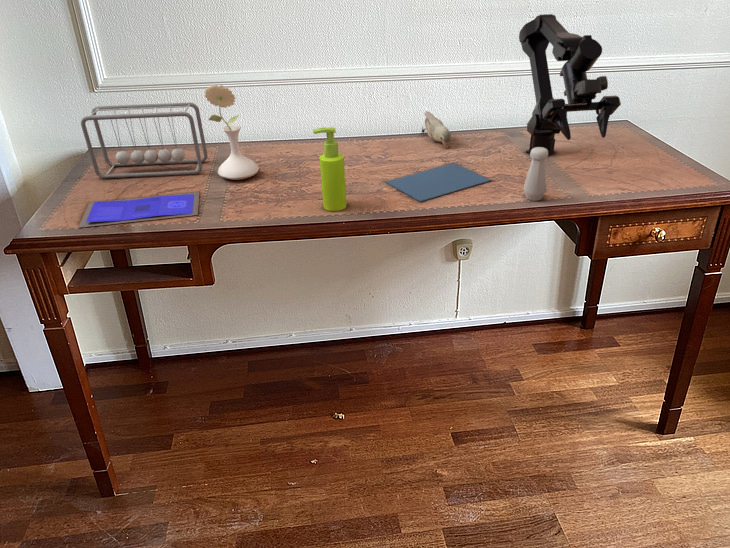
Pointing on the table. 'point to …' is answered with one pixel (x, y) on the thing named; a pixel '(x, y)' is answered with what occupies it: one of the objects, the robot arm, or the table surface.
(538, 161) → the salt shaker
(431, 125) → the decorative bird
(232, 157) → the flower in vase
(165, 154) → the newton's cradle
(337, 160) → the soap dispenser
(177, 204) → the booklet
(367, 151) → the table surface
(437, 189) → the slate mat
